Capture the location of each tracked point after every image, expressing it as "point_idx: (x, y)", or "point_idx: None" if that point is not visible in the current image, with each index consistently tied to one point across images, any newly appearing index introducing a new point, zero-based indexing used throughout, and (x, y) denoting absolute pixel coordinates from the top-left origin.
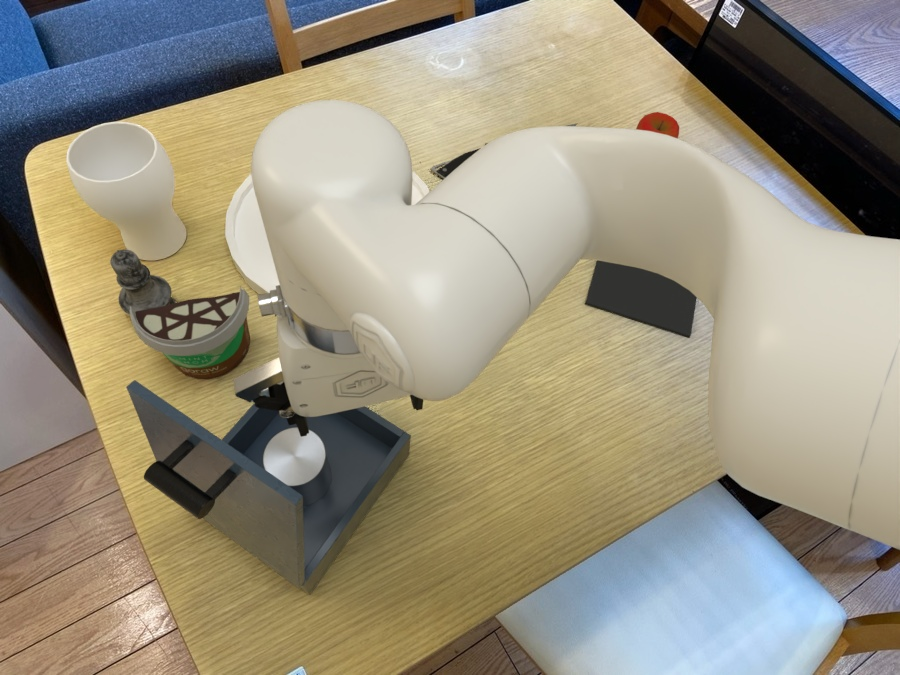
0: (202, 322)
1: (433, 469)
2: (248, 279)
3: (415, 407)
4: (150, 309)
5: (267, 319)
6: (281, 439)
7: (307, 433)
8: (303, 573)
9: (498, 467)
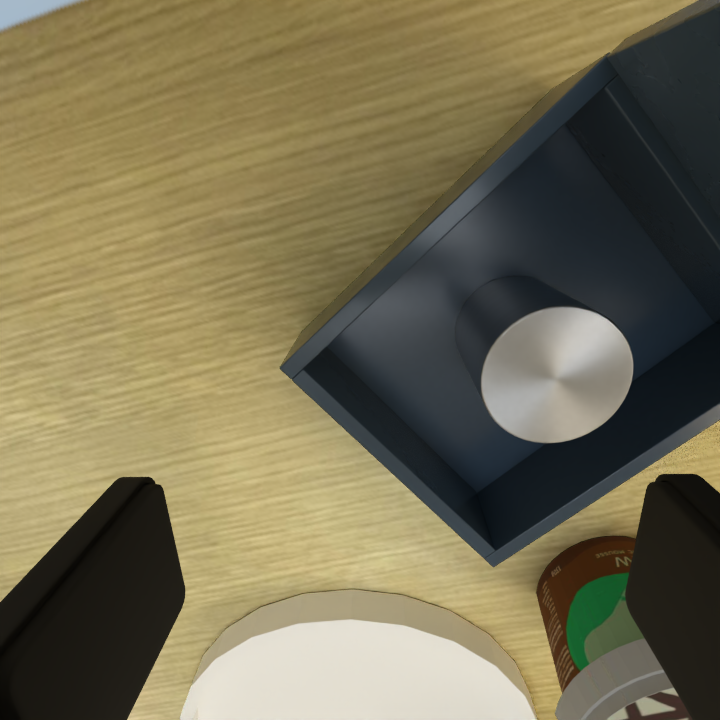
0: (674, 698)
1: (259, 293)
2: (521, 687)
3: (139, 496)
4: None
5: (500, 609)
6: (574, 422)
7: (664, 484)
8: (639, 38)
9: (131, 269)
